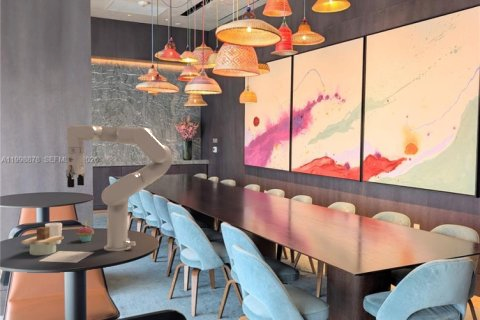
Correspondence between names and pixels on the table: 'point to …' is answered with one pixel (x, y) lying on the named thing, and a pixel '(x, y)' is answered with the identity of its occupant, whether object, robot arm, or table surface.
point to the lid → (42, 237)
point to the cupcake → (85, 233)
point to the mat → (66, 256)
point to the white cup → (55, 230)
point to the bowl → (42, 249)
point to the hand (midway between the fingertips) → (75, 186)
